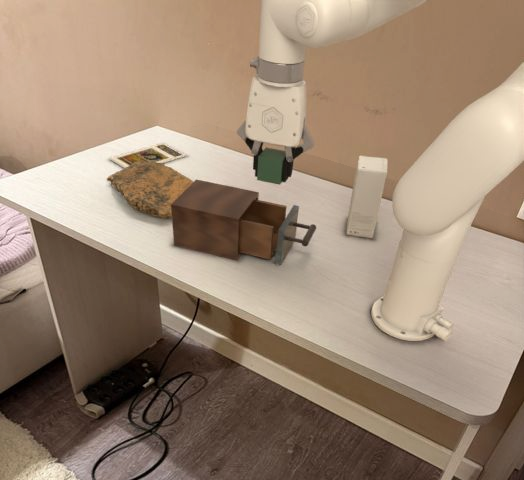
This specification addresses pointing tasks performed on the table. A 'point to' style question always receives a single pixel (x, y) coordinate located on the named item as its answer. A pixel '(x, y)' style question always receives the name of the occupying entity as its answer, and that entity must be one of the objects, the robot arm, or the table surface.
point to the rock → (150, 187)
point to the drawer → (270, 230)
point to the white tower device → (366, 196)
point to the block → (271, 165)
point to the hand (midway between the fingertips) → (272, 175)
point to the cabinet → (210, 218)
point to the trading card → (148, 155)
